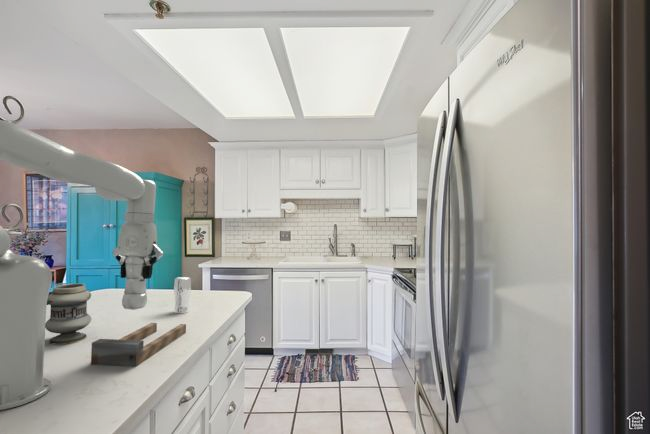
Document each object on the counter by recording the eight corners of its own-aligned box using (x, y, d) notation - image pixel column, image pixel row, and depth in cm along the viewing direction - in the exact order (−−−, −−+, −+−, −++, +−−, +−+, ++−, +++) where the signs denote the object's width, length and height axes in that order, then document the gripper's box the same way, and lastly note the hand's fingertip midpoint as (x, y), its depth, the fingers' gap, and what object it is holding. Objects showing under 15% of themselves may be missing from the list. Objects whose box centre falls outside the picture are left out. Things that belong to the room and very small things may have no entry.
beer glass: (173, 310, 144) (174, 277, 145) (189, 309, 147) (190, 276, 148) (173, 314, 138) (174, 279, 138) (190, 313, 141) (191, 279, 141)
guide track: (135, 366, 88) (136, 344, 88) (90, 364, 88) (91, 342, 89) (185, 332, 116) (186, 315, 116) (151, 331, 116) (151, 314, 117)
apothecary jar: (33, 344, 102) (36, 287, 102) (68, 332, 113) (71, 281, 114) (67, 347, 100) (69, 289, 100) (99, 334, 112) (101, 283, 112)
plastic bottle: (135, 312, 93) (140, 244, 94) (115, 310, 94) (121, 243, 96) (151, 307, 99) (156, 243, 101) (132, 306, 101) (137, 242, 102)
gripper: (104, 217, 95) (99, 278, 94) (160, 219, 94) (156, 280, 93) (121, 219, 103) (117, 275, 102) (173, 221, 102) (170, 277, 101)
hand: (136, 277), depth 97 cm, fingers closed on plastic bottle, 6 cm apart
